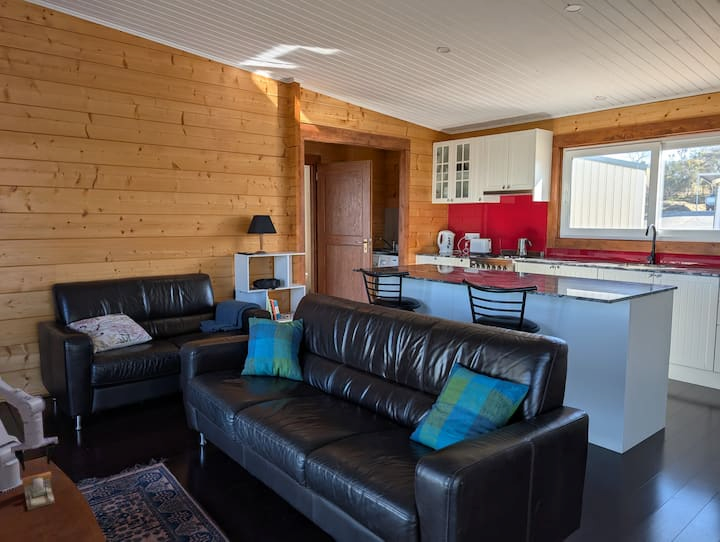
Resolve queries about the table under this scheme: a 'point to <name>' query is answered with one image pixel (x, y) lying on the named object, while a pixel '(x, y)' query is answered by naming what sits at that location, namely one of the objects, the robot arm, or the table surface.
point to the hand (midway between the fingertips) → (36, 466)
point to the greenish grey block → (38, 487)
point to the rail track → (39, 500)
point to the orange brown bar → (31, 478)
